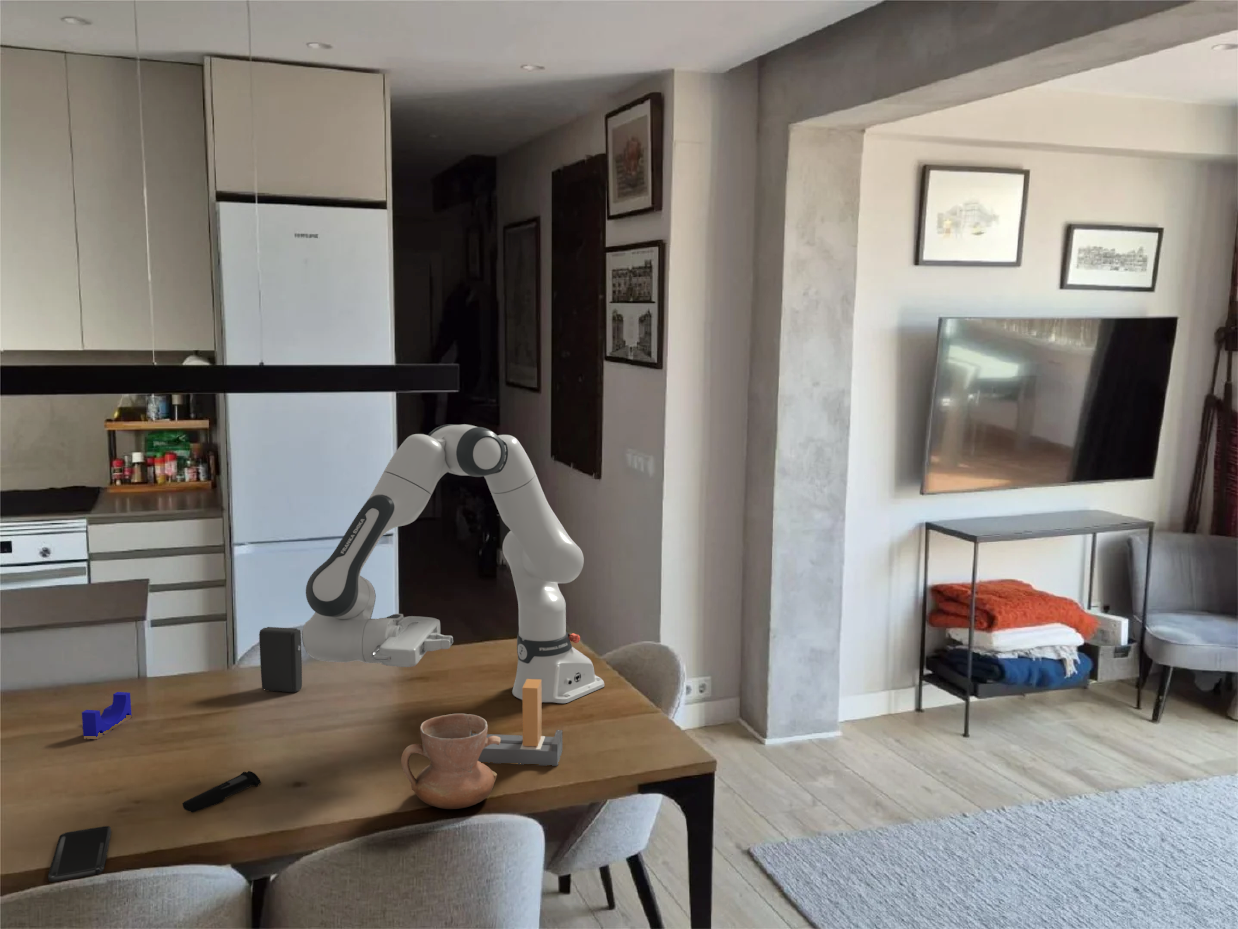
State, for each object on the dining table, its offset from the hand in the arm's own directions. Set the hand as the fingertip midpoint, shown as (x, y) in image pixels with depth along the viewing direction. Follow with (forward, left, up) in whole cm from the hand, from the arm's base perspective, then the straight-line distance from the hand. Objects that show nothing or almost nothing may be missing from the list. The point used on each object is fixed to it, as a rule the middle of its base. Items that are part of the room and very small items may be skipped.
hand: (451, 642), depth 201 cm
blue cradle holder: (+51, -58, -24) cm, 81 cm away
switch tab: (-11, +12, -20) cm, 26 cm away
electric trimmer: (+42, -10, -24) cm, 50 cm away
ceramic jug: (+10, +17, -24) cm, 31 cm away
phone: (+67, -5, -24) cm, 72 cm away
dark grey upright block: (+13, -56, -24) cm, 63 cm away
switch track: (-8, +8, -23) cm, 26 cm away
